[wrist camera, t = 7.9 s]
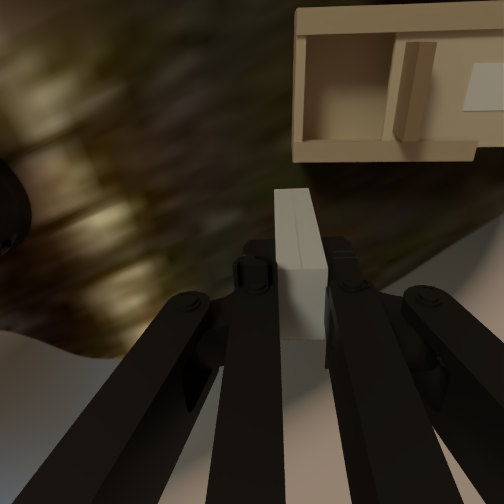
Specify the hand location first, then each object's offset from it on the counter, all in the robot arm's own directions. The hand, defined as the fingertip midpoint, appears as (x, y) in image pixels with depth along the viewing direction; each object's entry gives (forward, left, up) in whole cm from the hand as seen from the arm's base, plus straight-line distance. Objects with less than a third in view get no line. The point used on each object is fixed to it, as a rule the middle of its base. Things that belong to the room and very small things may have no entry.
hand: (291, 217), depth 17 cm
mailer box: (+9, +3, -25) cm, 27 cm away
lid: (+15, +3, -20) cm, 25 cm away
